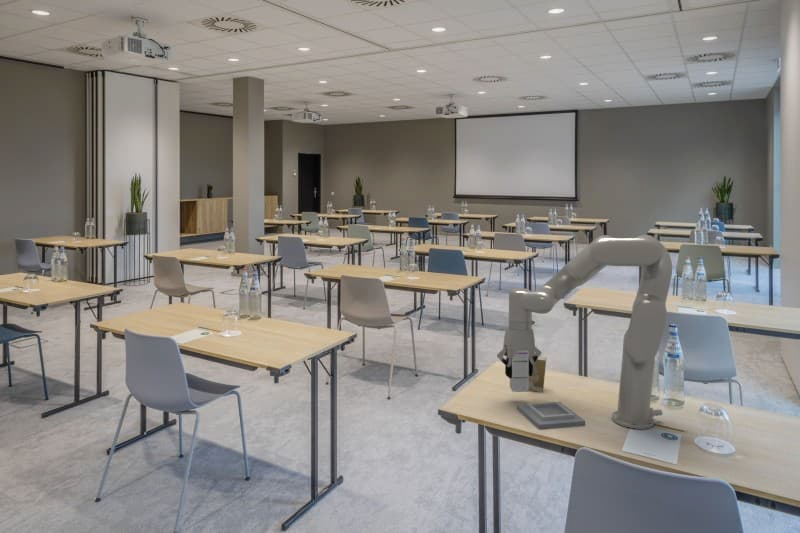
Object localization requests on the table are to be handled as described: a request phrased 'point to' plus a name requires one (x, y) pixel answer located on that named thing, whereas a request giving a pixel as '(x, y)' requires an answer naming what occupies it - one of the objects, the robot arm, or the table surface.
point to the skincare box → (538, 375)
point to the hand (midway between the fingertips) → (519, 375)
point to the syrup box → (520, 372)
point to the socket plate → (550, 415)
